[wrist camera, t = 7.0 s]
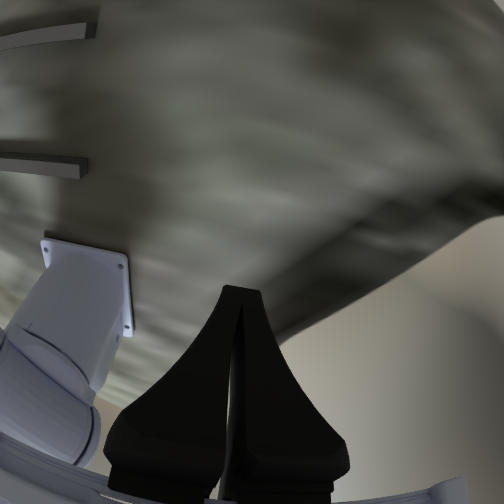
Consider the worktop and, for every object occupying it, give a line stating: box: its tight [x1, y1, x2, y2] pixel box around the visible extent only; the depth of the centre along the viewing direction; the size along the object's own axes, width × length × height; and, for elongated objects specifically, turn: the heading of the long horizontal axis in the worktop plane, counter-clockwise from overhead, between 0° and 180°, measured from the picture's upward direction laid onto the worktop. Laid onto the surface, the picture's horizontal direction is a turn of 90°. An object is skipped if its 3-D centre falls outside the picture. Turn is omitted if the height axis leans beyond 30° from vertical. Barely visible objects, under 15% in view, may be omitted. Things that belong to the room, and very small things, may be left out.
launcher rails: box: [0, 23, 96, 180], centre depth 15 cm, size 10×13×1 cm
